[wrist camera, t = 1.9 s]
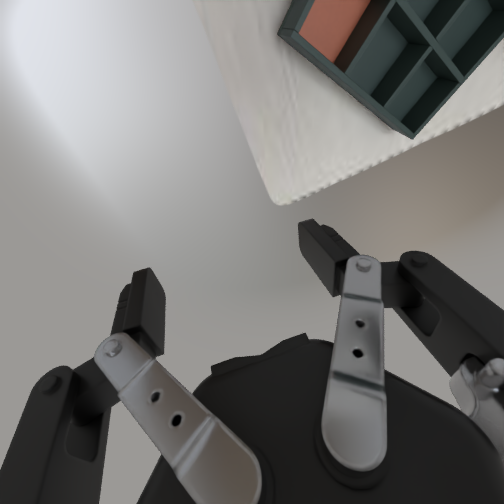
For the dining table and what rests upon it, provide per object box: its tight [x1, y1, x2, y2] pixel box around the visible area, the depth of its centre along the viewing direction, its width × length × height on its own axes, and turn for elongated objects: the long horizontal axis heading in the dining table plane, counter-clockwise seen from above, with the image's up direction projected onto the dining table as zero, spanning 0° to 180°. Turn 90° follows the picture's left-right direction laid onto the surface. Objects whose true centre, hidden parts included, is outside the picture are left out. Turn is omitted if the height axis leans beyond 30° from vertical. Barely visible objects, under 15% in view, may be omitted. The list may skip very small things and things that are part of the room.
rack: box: [277, 0, 504, 139], centre depth 25 cm, size 15×22×4 cm
